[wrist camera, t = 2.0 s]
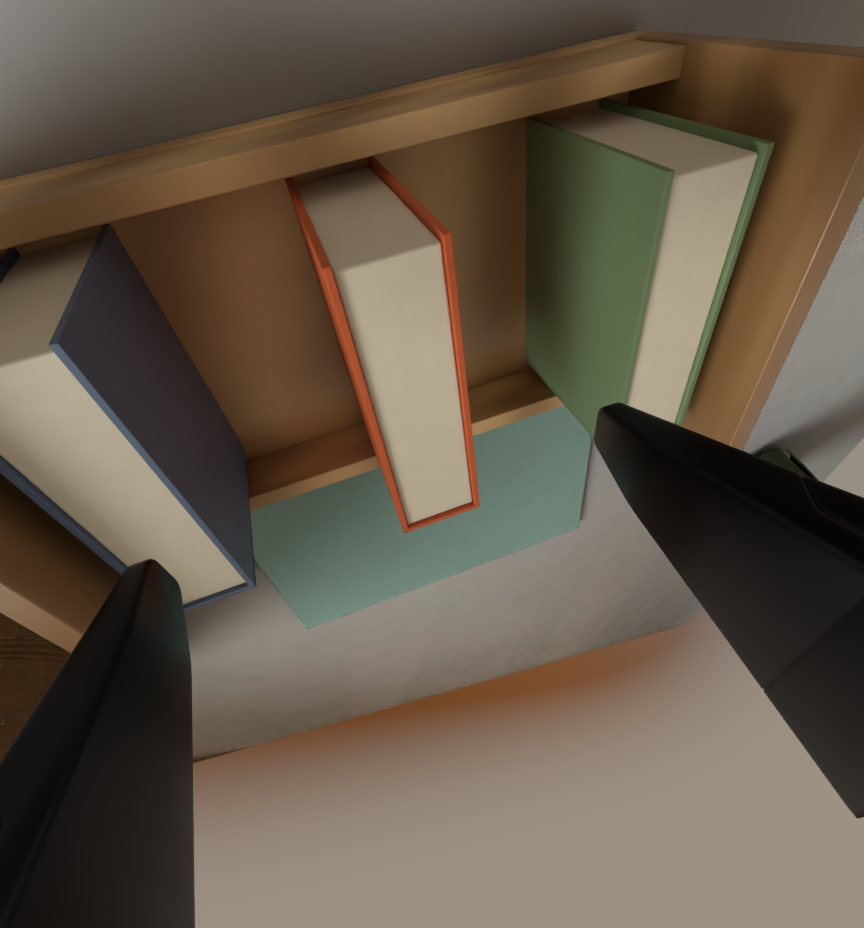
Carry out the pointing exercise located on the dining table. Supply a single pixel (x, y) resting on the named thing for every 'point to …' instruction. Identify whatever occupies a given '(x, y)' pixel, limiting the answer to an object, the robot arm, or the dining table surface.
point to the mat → (430, 547)
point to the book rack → (474, 245)
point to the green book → (631, 252)
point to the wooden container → (23, 676)
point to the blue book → (118, 420)
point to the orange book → (396, 333)
